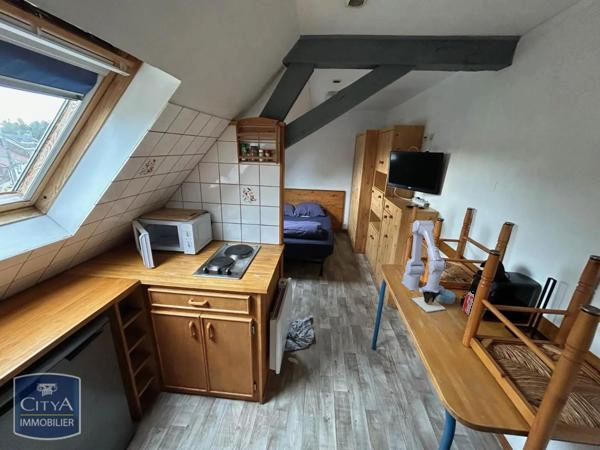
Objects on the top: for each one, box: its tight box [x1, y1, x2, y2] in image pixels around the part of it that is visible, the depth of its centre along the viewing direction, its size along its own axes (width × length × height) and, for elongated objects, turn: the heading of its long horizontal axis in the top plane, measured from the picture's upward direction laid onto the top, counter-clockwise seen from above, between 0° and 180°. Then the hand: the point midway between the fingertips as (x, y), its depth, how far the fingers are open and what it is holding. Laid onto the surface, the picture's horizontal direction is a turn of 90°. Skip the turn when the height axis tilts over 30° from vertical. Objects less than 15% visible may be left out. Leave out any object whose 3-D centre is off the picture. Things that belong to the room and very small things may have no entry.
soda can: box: [462, 290, 474, 317], centre depth 129 cm, size 7×7×12 cm
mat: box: [410, 298, 447, 314], centre depth 137 cm, size 13×13×1 cm
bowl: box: [435, 288, 456, 305], centre depth 143 cm, size 10×10×4 cm
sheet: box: [411, 296, 447, 312], centre depth 136 cm, size 12×12×4 cm
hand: (428, 301), depth 137 cm, fingers closed on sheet, 3 cm apart
